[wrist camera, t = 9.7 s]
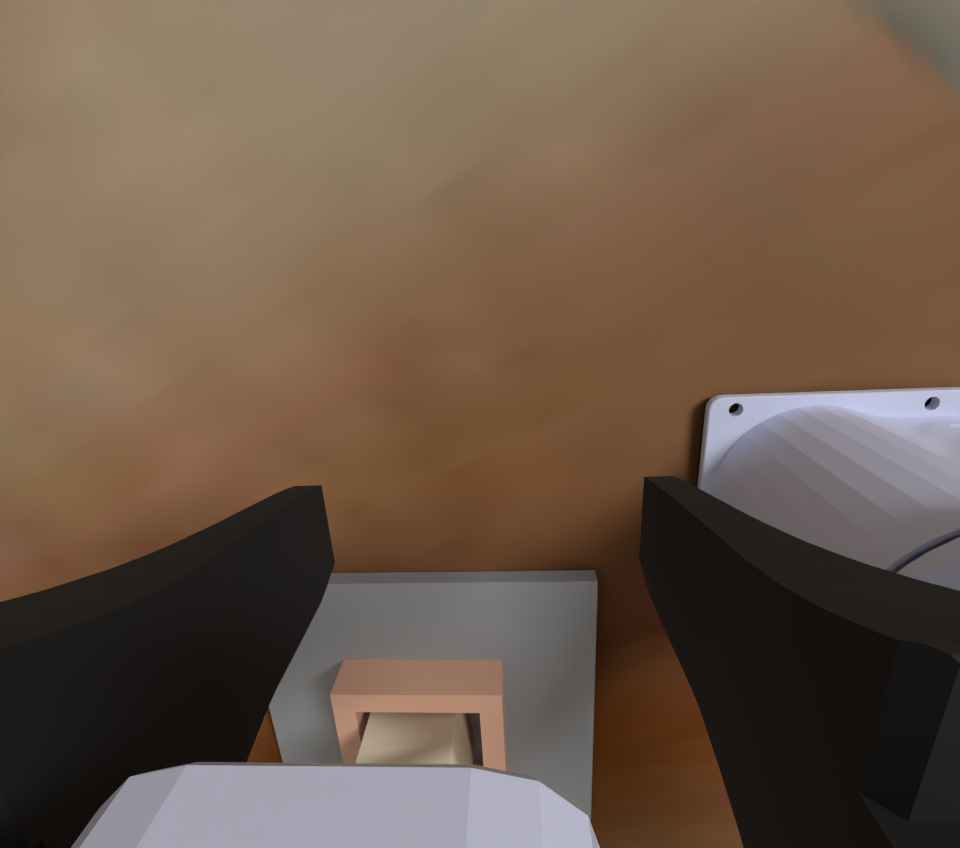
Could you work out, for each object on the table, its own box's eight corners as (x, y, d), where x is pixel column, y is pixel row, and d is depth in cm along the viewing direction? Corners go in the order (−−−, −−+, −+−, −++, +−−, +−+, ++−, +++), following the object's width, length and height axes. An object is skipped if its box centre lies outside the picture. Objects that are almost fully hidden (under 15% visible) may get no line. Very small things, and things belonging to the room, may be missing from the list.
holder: (594, 570, 23) (606, 613, 20) (588, 817, 28) (596, 877, 25) (247, 574, 24) (214, 615, 21) (304, 811, 29) (283, 867, 26)
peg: (459, 677, 24) (441, 842, 17) (474, 739, 25) (462, 914, 19) (378, 685, 24) (330, 848, 18) (397, 745, 26) (358, 918, 19)
